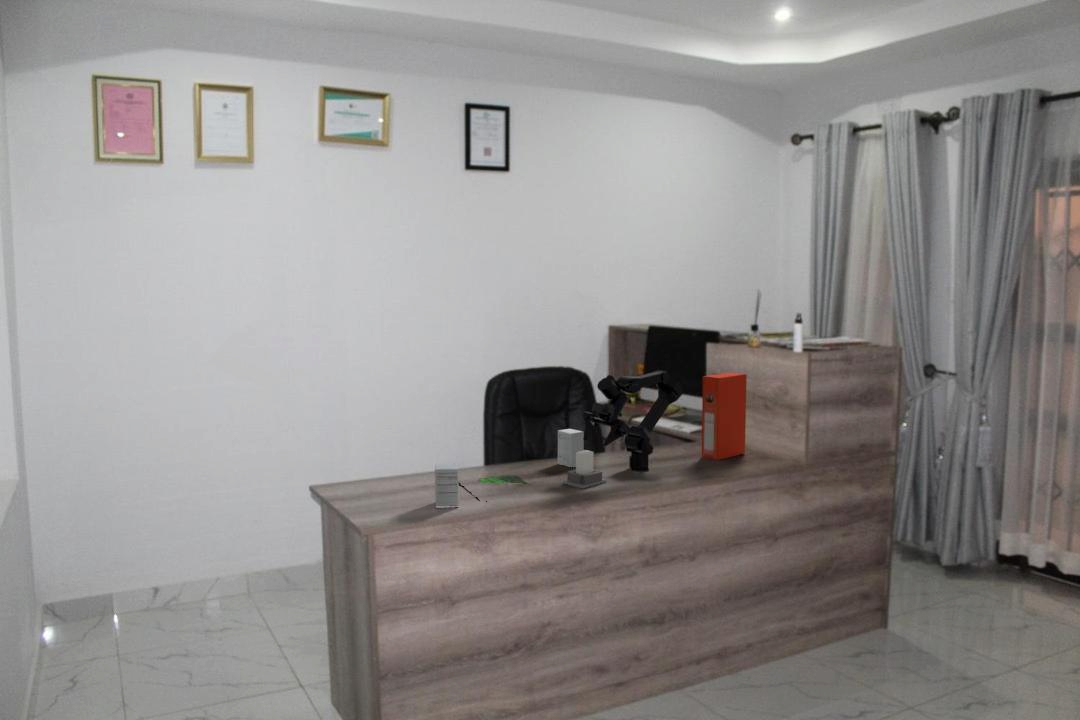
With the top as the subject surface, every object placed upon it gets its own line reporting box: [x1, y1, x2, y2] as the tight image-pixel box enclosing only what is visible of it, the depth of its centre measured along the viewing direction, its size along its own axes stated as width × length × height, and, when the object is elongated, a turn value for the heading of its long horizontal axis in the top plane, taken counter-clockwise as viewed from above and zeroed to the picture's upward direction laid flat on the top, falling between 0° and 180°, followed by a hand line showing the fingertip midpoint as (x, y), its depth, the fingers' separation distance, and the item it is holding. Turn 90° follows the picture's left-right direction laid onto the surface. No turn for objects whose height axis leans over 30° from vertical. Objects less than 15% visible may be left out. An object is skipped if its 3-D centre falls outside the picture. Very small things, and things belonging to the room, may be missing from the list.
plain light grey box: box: [575, 449, 594, 475], centre depth 298 cm, size 5×4×10 cm
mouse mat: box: [478, 475, 531, 486], centre depth 291 cm, size 27×22×1 cm
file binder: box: [701, 372, 747, 461], centre depth 338 cm, size 8×17×32 cm, turn 130°
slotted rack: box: [562, 468, 607, 489], centre depth 298 cm, size 12×9×4 cm
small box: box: [557, 428, 585, 469], centre depth 324 cm, size 8×6×13 cm
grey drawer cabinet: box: [434, 463, 460, 507], centre depth 271 cm, size 7×7×13 cm
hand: (594, 443), depth 301 cm, fingers open, 9 cm apart
